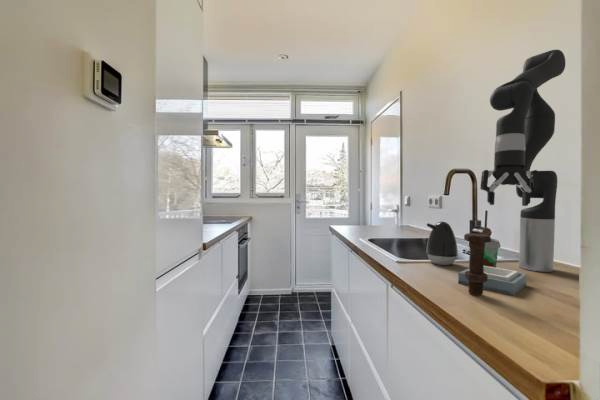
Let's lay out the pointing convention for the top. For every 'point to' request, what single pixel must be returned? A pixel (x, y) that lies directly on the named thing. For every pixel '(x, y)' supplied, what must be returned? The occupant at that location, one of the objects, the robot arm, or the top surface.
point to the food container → (491, 253)
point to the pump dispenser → (441, 244)
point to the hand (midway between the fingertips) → (508, 205)
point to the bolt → (476, 262)
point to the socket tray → (499, 280)
